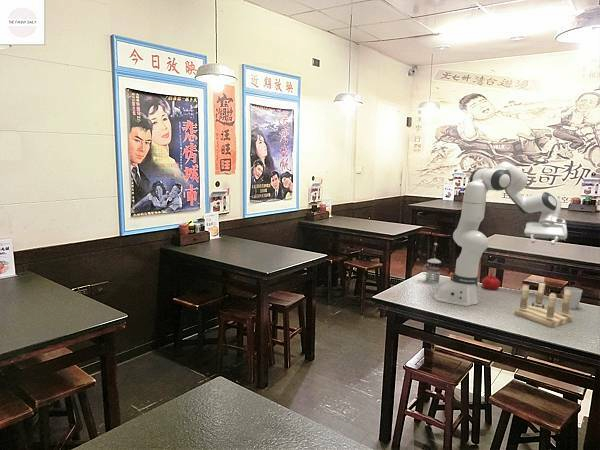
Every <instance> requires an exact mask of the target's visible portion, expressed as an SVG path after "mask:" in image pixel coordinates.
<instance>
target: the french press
mask: <svg viewBox="0 0 600 450" xmlns="http://www.w3.org/2000/svg"><path fill="white" fill-rule="evenodd" d="M433 244H434V245H435V246H434V245H433V246H434V250H436V249H437V248H436V247H437V246H438V243H437V242H434V243H433ZM426 262H427V263H426V264H424V265H423V268H422V270H423V271H422V273H423V274H424V275H425V280H424V281H423V283H424V284H425V285H428V286H433V287H434V286H436V287H437V286H441V285H442V284H441V283H440V275H441V270H440V267H438V266H434V265H435V264H442V261H441V260H439V259H437V258H436V255H434V258H430V259H427V261H426ZM430 264H434V265H433V266H431V265H430ZM426 267H427V269H426Z"/></svg>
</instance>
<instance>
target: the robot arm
mask: <svg viewBox="0 0 600 450" xmlns="http://www.w3.org/2000/svg"><path fill="white" fill-rule="evenodd" d="M527 185H528V176H527V174H526V173H525V172H524V171H523V170H522V169H520V168H519V167H518V166H517V165H514V164H513V163H511V162H509V161H501V162H499V163H498V164H497V165H496V166H495V168H491V167H489V168H487V167H486V168H484V167H483V168H476V169H474V170H472V173H470V176H469V182H468V183H467V184H466V185H465V189H464V192H463V197H462V203H461V204H462V207H461V215H460V218H459V221H458V224H457V228H455V230H454V232H453V234H452V239H453V241H454V242H455V243H456V244H457V246H459V247H460V248H461V252H460V254H459V256H458V257H457V259H456V262H455V272H449V276H450V279H449V280H448V281H446V282H444V283H442V284H441V285H439V288H438V291H437V292H434V293H433V299H434V300H436V301H437V302H440V303H441V302H442V303H447V304H453V305H457V306H458V305H459V306H464V307H468V306H471V305H478V302H479V301H478V294H477V291H478V289H477V288H478V286H479V285H478V283H479V276H478V275H479V273H478V272H479V265H480V261H481V258H482V256H483V253H484V252H485V251H486V250H487V249H488V248H489V239H488V237H487V236H486V235H485V233H483V232H481V231H479V227H480V225H481V222H482V221H483V220H484V218H485V212H486V205H487V204H486V203H487V193H488V191H496V192H497V191H499V192H500V191H505V194H506V195H507V196H508V197H509V199H510V200H511V201H512V202H513V203H514V204H515V206H516V207H517V209H518V211H520V213H522V214H523V215H529V214H534V213H538V212H540V213H541V214H540V216H539V220H538V221H528V222H526V224H525V228H524V231H523V232H524V235H525V236H526V237H530V241H531V243H532V244H535V243H536V238H541V239H542V238H543V239H553V240H551V242H550V244H551V245H553V246H556V245H555V244H556V243H557V242H558V241H559V240H566V239H567V238H568V228H567V221H566V219H564V218H559V216H560V215H561V209H562V201H561V199H560V198H559V197H558V196H556V195H552V194H551V193H549V192H546V191H545V192H540V193H535V194H532V195H525V196H524V195H522V193H520V192H522V191H523V190H524V189H525V188H526V187H527Z"/></svg>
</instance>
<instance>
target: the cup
mask: <svg viewBox="0 0 600 450" xmlns="http://www.w3.org/2000/svg"><path fill="white" fill-rule="evenodd" d="M567 289H569V290H571V292H572V293H571V300H570V307H569V310H577V308H578V306H579V305H580V301H581V300H582V295H583V289H581V288H577V287H572V286H565V287H563V294H564V293H565V290H567Z"/></svg>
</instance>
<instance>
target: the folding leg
mask: <svg viewBox="0 0 600 450" xmlns="http://www.w3.org/2000/svg"><path fill="white" fill-rule="evenodd" d="M546 284H547V282H545V281H542V280H540V281H539V282H538V287H537V288H538V289H537V293H536V299H535V301H534V304H536V305H543V298H544V294H545V290H546Z"/></svg>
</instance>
